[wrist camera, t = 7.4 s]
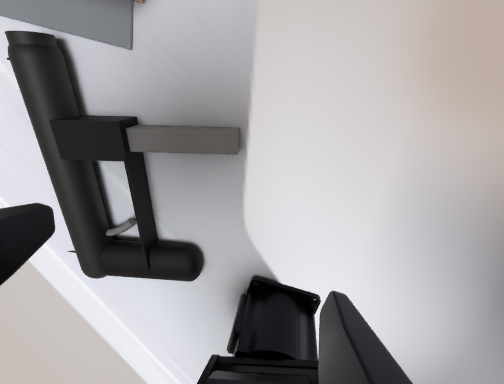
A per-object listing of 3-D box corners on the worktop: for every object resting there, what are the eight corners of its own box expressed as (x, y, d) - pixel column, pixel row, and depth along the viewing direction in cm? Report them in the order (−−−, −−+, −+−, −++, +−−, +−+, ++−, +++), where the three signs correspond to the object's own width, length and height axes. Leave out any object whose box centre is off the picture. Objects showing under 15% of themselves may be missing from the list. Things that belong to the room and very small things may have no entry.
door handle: (232, 25, 14) (-31, 29, 15) (238, 296, 22) (66, 283, 23) (240, 35, 17) (20, 38, 18) (243, 270, 25) (91, 260, 26)
